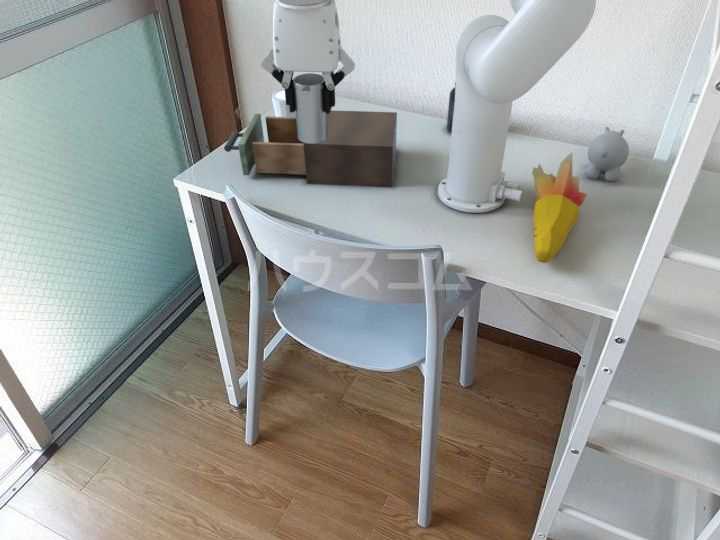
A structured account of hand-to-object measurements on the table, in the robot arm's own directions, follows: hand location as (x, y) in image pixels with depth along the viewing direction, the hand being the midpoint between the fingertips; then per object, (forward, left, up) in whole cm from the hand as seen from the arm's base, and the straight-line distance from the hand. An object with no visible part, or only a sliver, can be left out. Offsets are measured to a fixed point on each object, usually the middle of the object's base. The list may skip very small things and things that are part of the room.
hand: (311, 108), depth 95 cm
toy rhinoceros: (-46, -34, -19) cm, 60 cm away
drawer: (+14, -9, -17) cm, 24 cm away
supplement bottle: (-15, -39, -19) cm, 46 cm away
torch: (-40, -9, -19) cm, 45 cm away
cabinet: (0, -15, -18) cm, 23 cm away
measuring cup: (0, 0, -5) cm, 5 cm away
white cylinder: (+22, -26, -19) cm, 39 cm away
